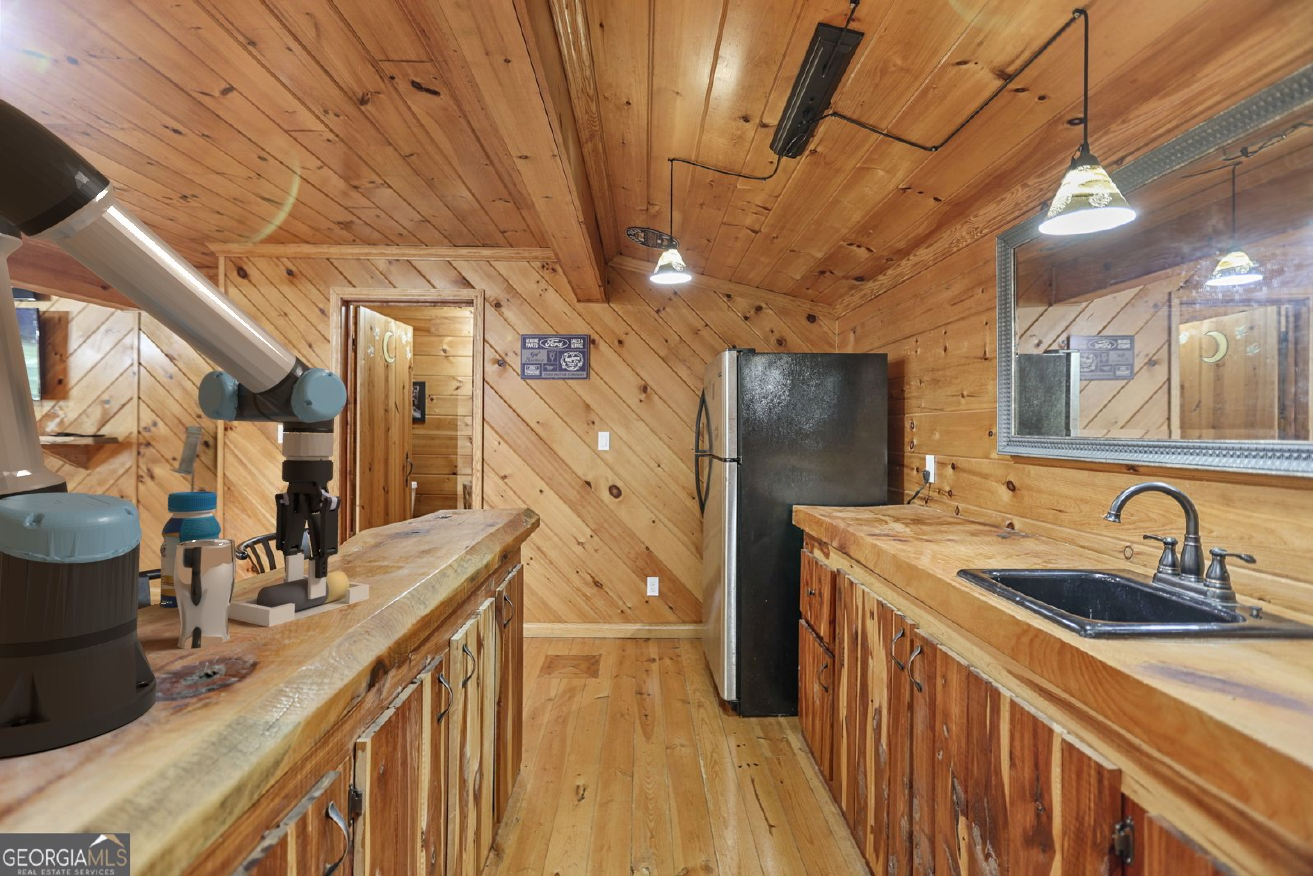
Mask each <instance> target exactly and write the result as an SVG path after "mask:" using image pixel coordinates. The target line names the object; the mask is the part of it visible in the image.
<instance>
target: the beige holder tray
mask: <svg viewBox="0 0 1313 876" xmlns="http://www.w3.org/2000/svg"><path fill="white" fill-rule="evenodd" d="M304 578H308V574H304V576H303V579H304ZM283 583H285V578H283ZM369 599H370V584H367V583H360V582H356V581H355V582H354V581H349V588H348V589H346V597H344V598H342V599H339V600H335V601H331V602H328V603H324V604H320V605H316V606H313V607H309V608H305V609H302V610H298V611H295V604H293V603H289V604H285V605H281V606H277V607H273V608H270V607H265V606H260V605H257V596H254V597H249V598H244V599H241V600H234V599H231V603H230V607H229V612H228V619H231V620H236V621H239V622H246V623H250V624H253V625H259V626H262V627H268V628H270V627H273V626H278V625H281V624H285V623H288V622H292V621H295V620H299V619H302V618H306V617H309V616H313V615H316V614H319V613H324V612H327V611H330V610H334V609H338V608H341V607H345V606H349V605H351V604H354V603H360V602H362V601H366V600H369Z"/></svg>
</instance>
